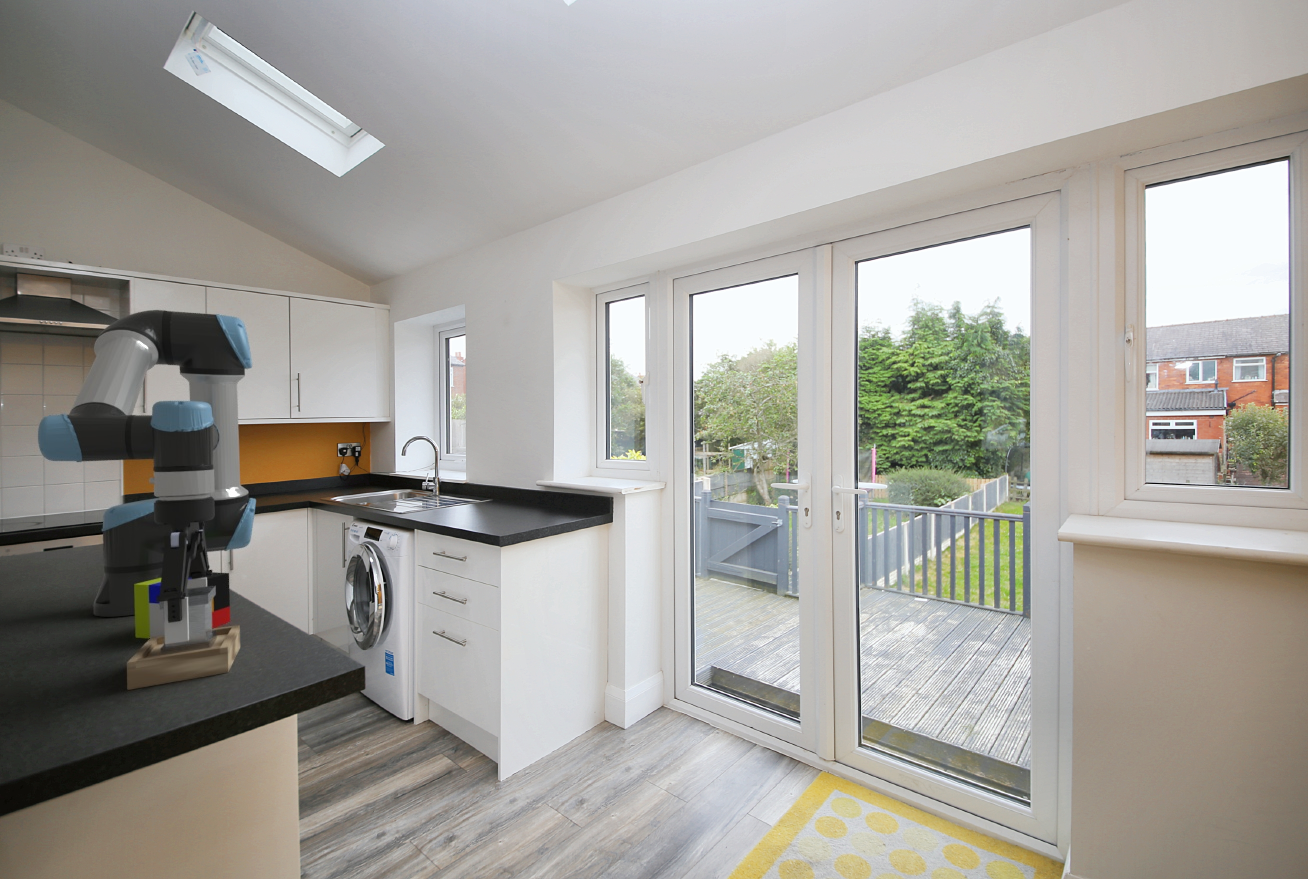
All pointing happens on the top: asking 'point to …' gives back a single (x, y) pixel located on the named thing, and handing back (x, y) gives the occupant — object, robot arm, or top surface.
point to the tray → (182, 660)
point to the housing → (196, 622)
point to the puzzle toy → (152, 617)
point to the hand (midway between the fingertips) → (188, 628)
